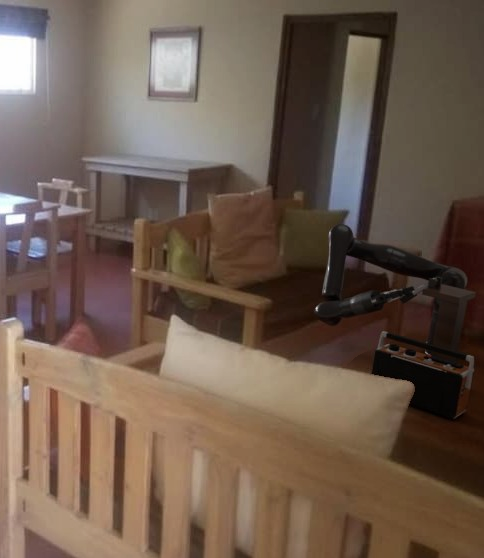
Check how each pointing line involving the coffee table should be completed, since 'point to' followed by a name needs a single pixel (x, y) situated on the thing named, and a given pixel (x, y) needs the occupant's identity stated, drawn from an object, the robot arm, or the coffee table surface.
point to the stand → (448, 315)
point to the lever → (414, 292)
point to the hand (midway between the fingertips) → (407, 290)
